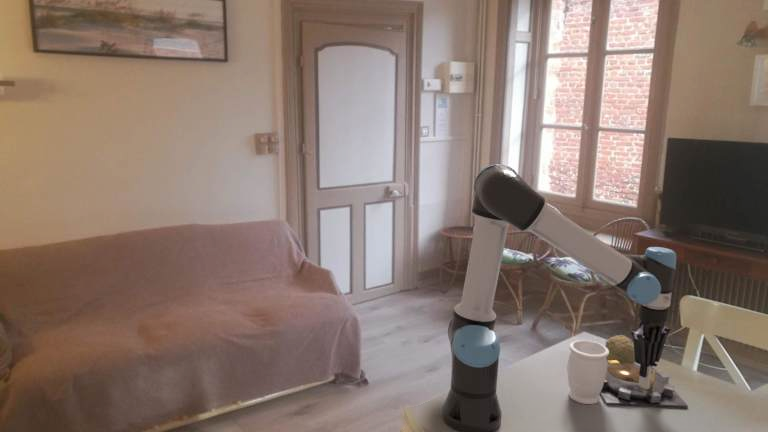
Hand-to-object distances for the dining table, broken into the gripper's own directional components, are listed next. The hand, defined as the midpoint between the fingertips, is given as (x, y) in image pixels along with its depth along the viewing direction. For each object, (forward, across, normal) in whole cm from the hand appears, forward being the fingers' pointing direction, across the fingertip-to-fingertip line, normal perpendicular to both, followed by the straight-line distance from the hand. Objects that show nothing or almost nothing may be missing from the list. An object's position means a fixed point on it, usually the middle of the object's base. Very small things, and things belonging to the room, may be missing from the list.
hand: (643, 386), depth 163 cm
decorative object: (+4, +17, +22) cm, 28 cm away
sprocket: (+4, +5, +8) cm, 10 cm away
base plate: (+5, +5, +8) cm, 10 cm away
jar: (+5, -12, +10) cm, 16 cm away
